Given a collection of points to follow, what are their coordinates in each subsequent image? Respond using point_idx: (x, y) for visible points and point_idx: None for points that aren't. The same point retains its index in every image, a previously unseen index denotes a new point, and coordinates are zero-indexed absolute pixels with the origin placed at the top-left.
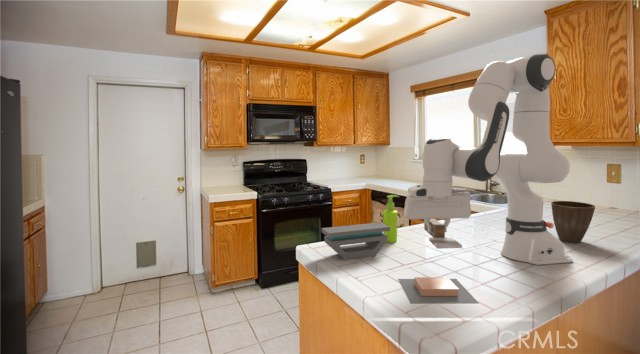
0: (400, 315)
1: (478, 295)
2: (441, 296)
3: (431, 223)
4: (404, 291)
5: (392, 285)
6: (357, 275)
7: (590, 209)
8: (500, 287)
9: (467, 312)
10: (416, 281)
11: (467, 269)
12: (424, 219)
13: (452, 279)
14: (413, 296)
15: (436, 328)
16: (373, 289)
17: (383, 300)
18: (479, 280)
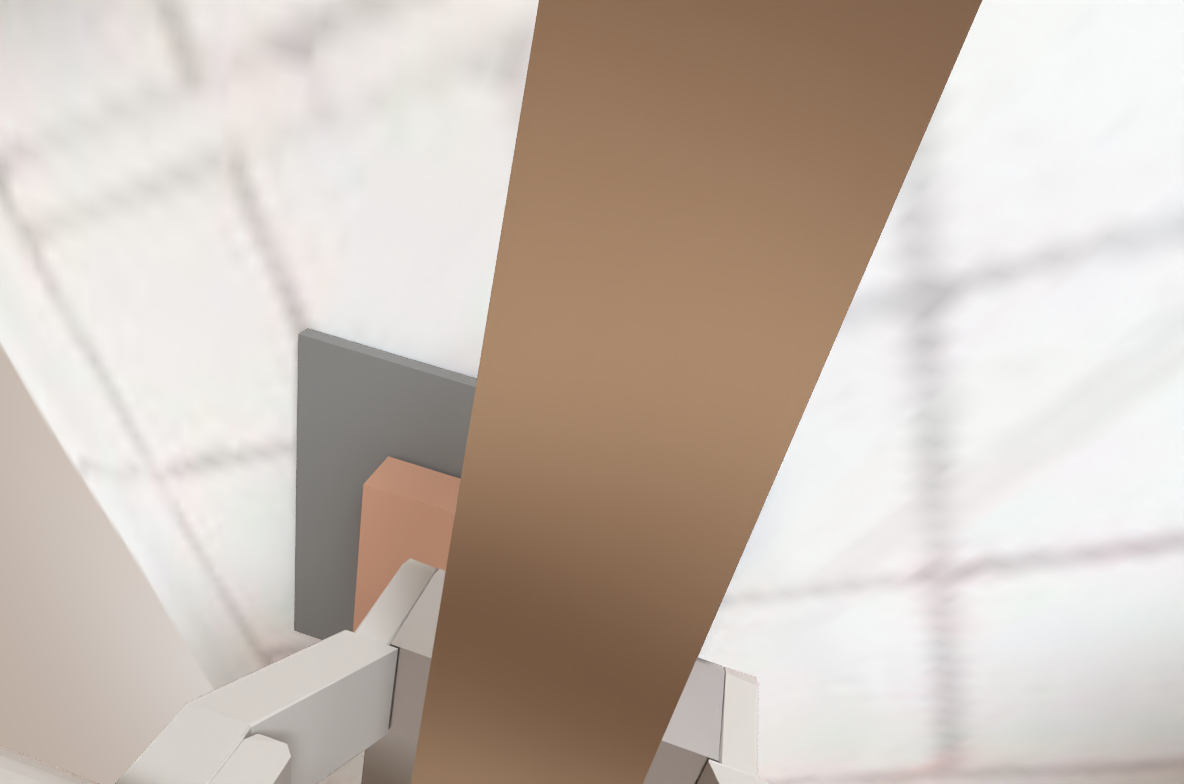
0: (235, 665)
1: (745, 672)
2: None
3: (433, 688)
4: (296, 517)
5: (253, 386)
6: (3, 129)
7: None
8: (1011, 655)
9: None
10: (361, 532)
11: (1120, 284)
12: (149, 777)
13: None
14: (330, 582)
15: (353, 775)
16: (125, 400)
17: (174, 534)
18: (971, 523)
